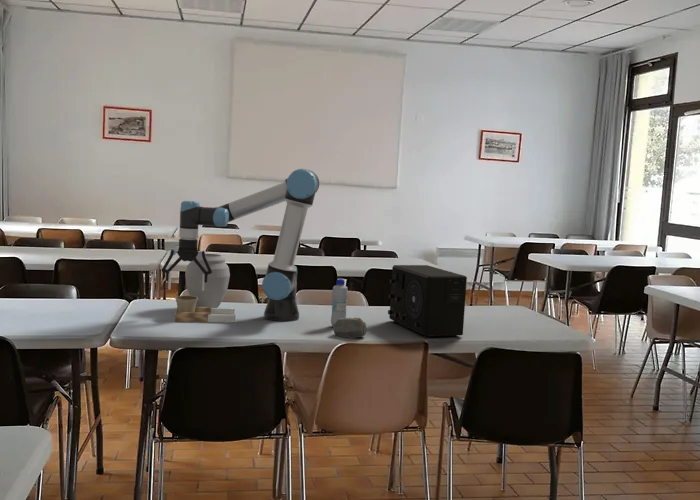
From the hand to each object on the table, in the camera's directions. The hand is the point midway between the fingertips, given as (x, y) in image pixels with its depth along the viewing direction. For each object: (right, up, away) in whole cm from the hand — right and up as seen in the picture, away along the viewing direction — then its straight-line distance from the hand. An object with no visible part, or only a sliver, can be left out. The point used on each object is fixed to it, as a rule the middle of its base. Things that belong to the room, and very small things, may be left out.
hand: (186, 289), depth 290 cm
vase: (+4, -10, +22) cm, 25 cm away
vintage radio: (+98, -17, +6) cm, 99 cm away
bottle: (+63, -16, 0) cm, 65 cm away
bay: (+14, -12, +4) cm, 19 cm away
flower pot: (0, -12, +1) cm, 12 cm away
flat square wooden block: (+3, -12, +2) cm, 12 cm away
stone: (+68, -18, -16) cm, 72 cm away
